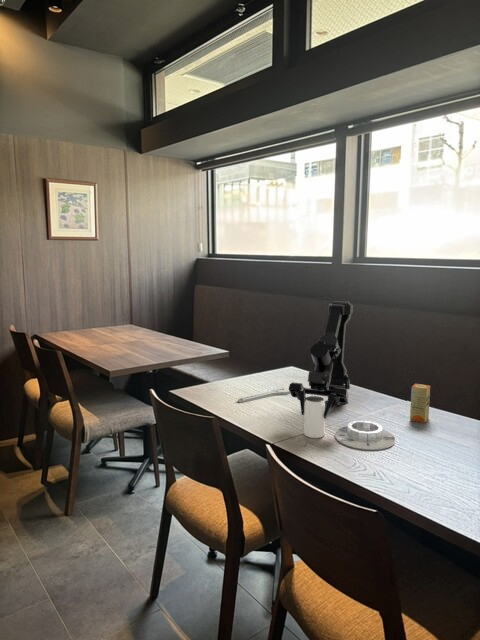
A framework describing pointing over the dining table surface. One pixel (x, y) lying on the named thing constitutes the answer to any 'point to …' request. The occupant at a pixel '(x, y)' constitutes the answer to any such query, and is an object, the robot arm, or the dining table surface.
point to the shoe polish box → (420, 403)
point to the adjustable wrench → (264, 395)
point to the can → (314, 417)
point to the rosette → (365, 436)
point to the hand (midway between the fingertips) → (313, 416)
